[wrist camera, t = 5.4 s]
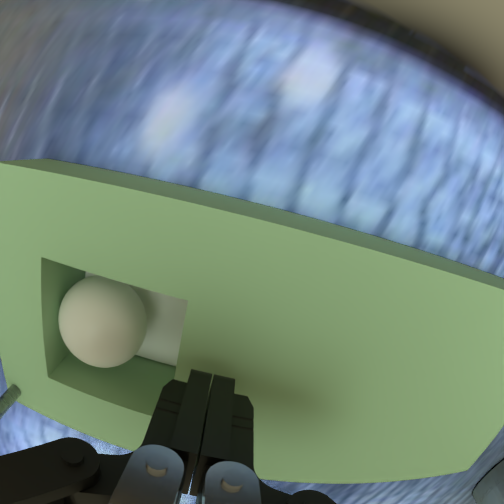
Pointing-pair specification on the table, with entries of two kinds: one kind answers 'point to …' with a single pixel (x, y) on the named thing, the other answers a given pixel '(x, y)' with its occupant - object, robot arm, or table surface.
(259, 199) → the table surface
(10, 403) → the pin
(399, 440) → the green
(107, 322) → the ball
